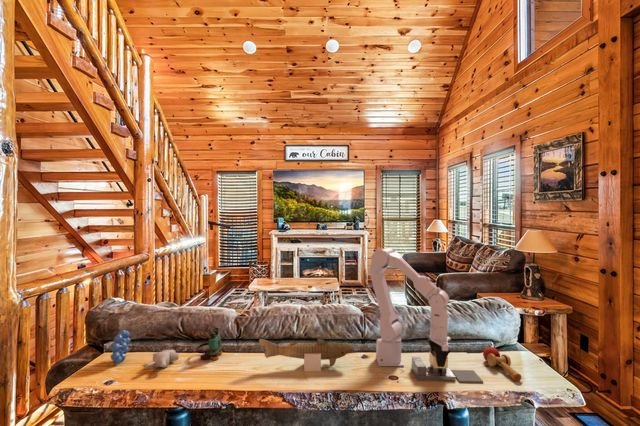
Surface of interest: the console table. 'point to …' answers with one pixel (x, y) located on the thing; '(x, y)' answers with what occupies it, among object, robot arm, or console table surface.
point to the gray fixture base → (430, 371)
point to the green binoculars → (212, 346)
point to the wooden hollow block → (434, 361)
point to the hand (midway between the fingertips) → (438, 362)
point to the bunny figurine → (163, 358)
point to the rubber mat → (467, 376)
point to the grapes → (120, 346)
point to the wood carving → (308, 352)
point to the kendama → (500, 362)
